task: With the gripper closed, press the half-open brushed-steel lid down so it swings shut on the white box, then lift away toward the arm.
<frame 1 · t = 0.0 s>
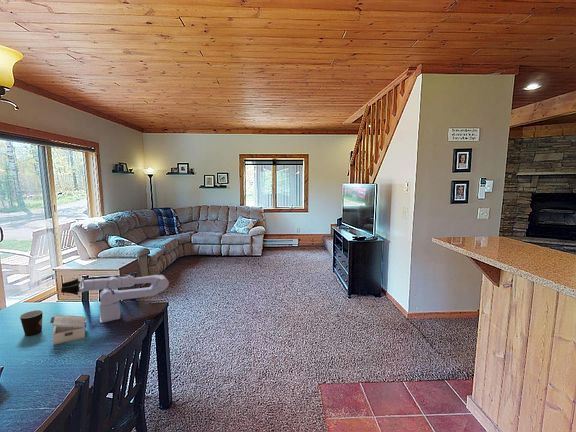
hand: (61, 287, 152), 22 cm above the table, tool horizontal, fingers open, 7 cm apart
lid: (67, 320, 147), point 8 cm above the table, hinge at 20.0°
white box: (69, 335, 148), on the table
coffee mug: (36, 331, 152), on the table
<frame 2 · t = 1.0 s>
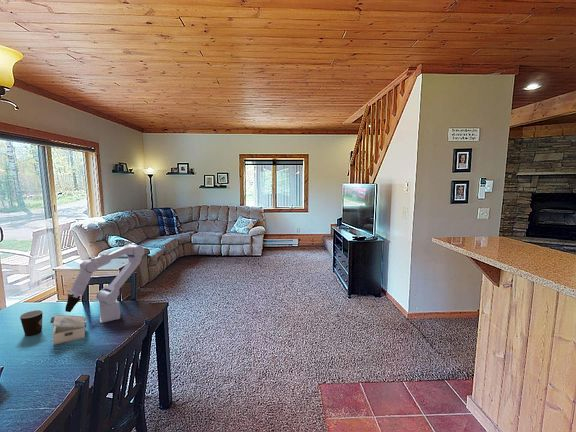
hand: (67, 310, 148), 12 cm above the table, tool tilted 30°, fingers open, 7 cm apart
nothing on the table moved.
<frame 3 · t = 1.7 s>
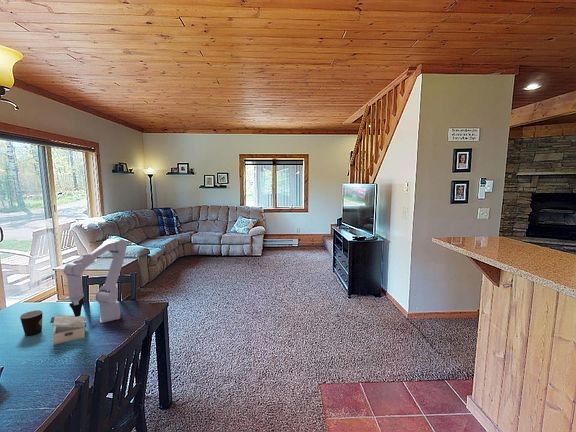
hand: (77, 313, 149), 10 cm above the table, tool pointing down, fingers open, 6 cm apart
nothing on the table moved.
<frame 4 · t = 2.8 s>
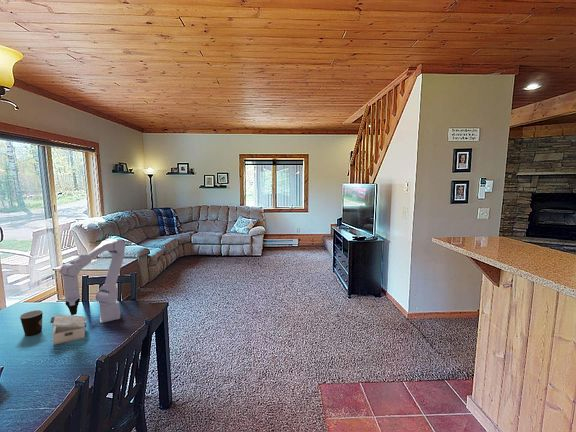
hand: (73, 314, 148), 10 cm above the table, tool pointing down, fingers closed
nothing on the table moved.
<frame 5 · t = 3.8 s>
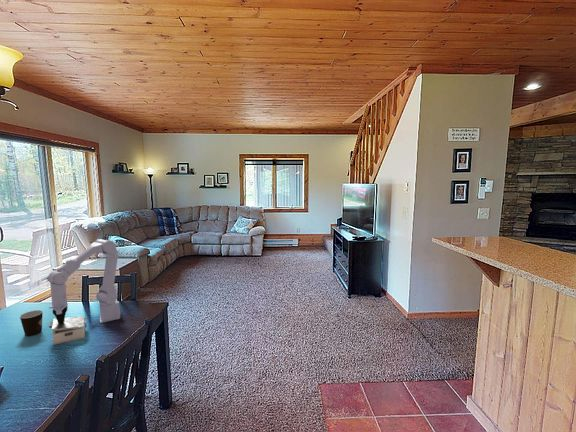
hand: (61, 322, 145), 8 cm above the table, tool pointing down, fingers closed, pressing on lid
lid: (67, 323, 147), point 7 cm above the table, hinge at 10.0°, touching gripper
everything else where it was.
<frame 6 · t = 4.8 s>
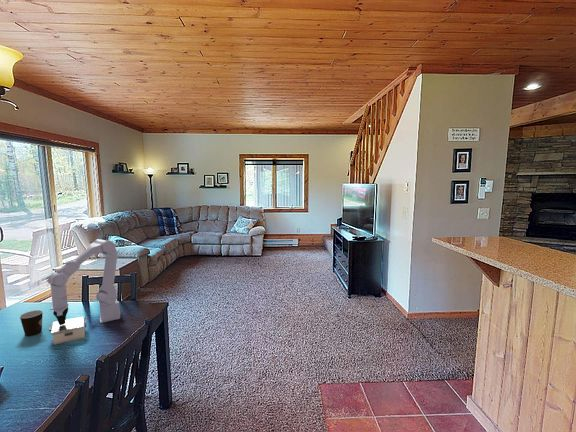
hand: (62, 324, 146), 7 cm above the table, tool pointing down, fingers closed
lid: (67, 325, 147), point 6 cm above the table, hinge at 2.3°
everything else where it was.
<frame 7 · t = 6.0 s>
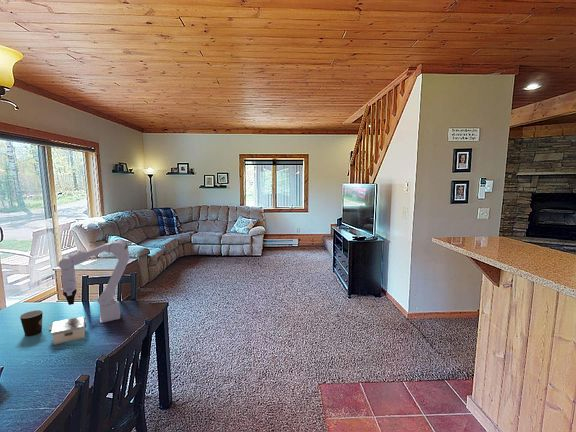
hand: (71, 304, 159), 10 cm above the table, tool pointing down, fingers closed
nothing on the table moved.
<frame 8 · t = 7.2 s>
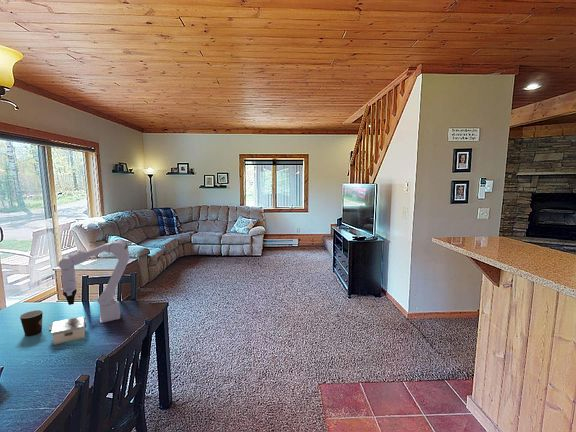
hand: (71, 304, 159), 10 cm above the table, tool pointing down, fingers closed
nothing on the table moved.
at the end: lid at +2° (first picture: +20°); coffee mug moved 0.2 cm from its start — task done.
